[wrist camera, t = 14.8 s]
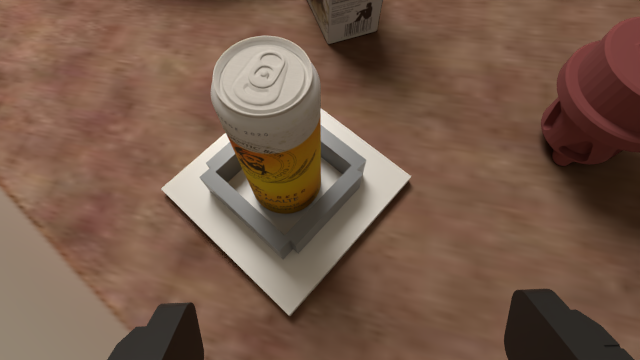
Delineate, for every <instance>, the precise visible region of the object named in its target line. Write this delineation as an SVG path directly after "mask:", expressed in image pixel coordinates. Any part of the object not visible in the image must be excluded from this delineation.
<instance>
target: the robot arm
mask: <svg viewBox="0 0 640 360" xmlns="http://www.w3.org/2000/svg"><path fill="white" fill-rule="evenodd" d="M504 345H505V351H506V355H507V357H508V360H634V359H633V358H632V357H631V356H630V355H629V354H628V353H627V352H626V351H625V350H624V349H621V348H620V346H619V343H618V342H617V341H616V340H615V339H614V338H613V337H612V336H611V335H610V334H609V333H608V332H607V331H606V330H605V329H604V328H603V327H602V326H601V325H599V324H598V323H596V322H595V321H593V320H592V319H590V318H589V317H587V316H586V315H584V314H582V313H581V312H579V311H578V310H570V309H569V307H568V306H567V305H566V304H565V303H564V302H563V301H562V300H561V299H560V298H559V297H558V296H557V294H556V293H555V292H553V291H552V290H550V289H529V290H516V291H515V292H514V293H513V296H512V300H511V305H510V310H509V315H508V320H507V325H506V330H505V335H504ZM108 360H204V348H203V343H202V338H201V333H200V329H199V324H198V319H197V314H196V310H195V306H194V304H193V303H168V304H160V305H159V306H158V307H157V309H156V310H155V312H154V314H153V316H152V317H151V319H150V321H149V323H148V324H147V326H145V327H136V328H135V329H133V330H132V331H131V332H130V333H129V334H128V335H127V336H126V337H125V338H123V339H122V340H121V341H120V342H119V343H118V344H117V345H116V347H115V348H114V350H113V352H112V353H111V355H110V356H109V358H108Z"/></svg>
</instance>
